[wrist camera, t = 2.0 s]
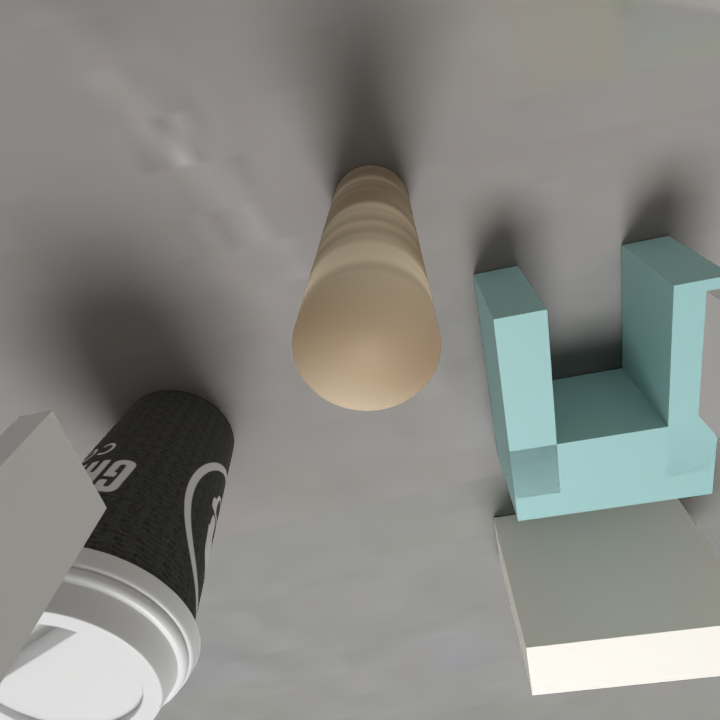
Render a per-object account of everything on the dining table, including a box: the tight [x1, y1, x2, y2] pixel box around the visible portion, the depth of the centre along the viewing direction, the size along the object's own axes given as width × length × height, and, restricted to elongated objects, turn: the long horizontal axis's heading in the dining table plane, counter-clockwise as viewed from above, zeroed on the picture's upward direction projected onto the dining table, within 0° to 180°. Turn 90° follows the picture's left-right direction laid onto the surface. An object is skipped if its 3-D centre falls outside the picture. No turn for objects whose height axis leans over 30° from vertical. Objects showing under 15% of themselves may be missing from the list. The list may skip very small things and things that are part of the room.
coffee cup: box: [0, 391, 234, 720], centre depth 27 cm, size 10×10×15 cm
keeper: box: [473, 236, 720, 521], centre depth 28 cm, size 12×9×6 cm
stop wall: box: [493, 499, 720, 695], centre depth 32 cm, size 4×11×9 cm, turn 103°
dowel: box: [292, 165, 441, 411], centre depth 20 cm, size 4×4×15 cm
